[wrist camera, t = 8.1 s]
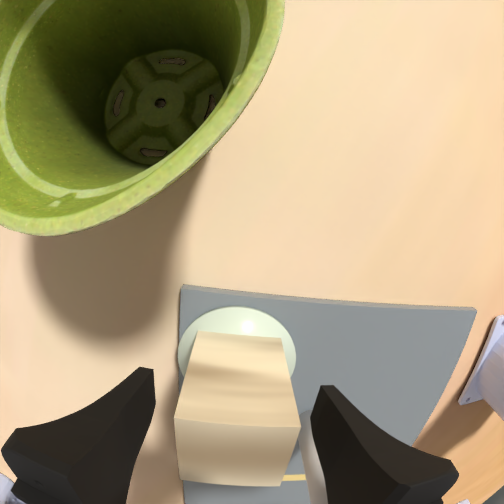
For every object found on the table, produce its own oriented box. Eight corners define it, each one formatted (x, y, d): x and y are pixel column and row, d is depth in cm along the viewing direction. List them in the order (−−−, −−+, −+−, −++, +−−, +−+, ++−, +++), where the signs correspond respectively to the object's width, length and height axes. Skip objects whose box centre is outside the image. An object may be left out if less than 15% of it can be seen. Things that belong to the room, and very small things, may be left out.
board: (472, 307, 15) (547, 360, 8) (359, 507, 21) (375, 558, 13) (183, 284, 14) (132, 378, 7) (186, 510, 20) (179, 569, 12)
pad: (305, 311, 14) (306, 315, 14) (283, 403, 15) (284, 407, 15) (180, 298, 14) (178, 301, 13) (179, 393, 15) (177, 397, 15)
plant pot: (68, 195, 13) (-63, 220, 5) (99, 31, 11) (13, -45, 2) (246, 213, 14) (249, 266, 5) (272, 30, 11) (299, -94, 3)
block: (269, 398, 15) (279, 486, 9) (196, 392, 15) (179, 479, 9) (281, 338, 14) (301, 427, 8) (197, 330, 14) (173, 417, 8)
